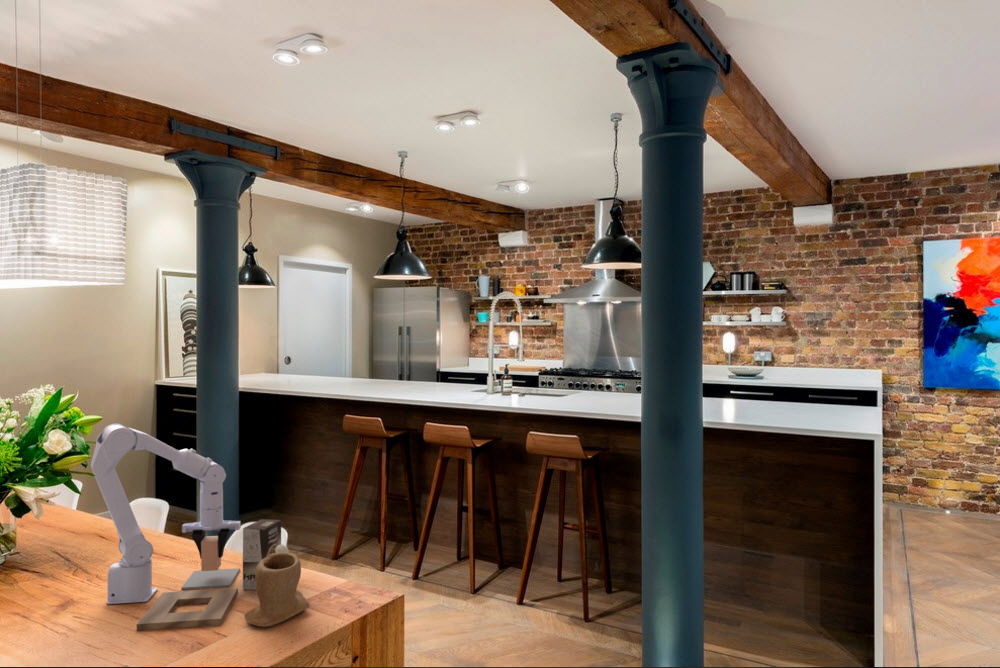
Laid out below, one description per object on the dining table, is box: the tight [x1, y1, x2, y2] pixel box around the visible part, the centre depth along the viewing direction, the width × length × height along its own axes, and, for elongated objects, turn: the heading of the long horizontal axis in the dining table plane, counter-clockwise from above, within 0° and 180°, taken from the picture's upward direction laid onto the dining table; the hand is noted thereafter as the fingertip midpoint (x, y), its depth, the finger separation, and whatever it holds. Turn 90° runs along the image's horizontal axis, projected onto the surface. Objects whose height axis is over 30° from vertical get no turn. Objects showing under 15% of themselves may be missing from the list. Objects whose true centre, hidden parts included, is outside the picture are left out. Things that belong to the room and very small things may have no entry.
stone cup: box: [244, 552, 310, 628], centre depth 158 cm, size 15×12×15 cm
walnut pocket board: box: [136, 587, 239, 632], centre depth 161 cm, size 18×18×2 cm
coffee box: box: [242, 518, 282, 591], centre depth 178 cm, size 9×6×16 cm
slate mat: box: [181, 567, 241, 591], centre depth 181 cm, size 12×12×1 cm
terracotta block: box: [200, 535, 222, 571], centre depth 180 cm, size 4×4×8 cm
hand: (211, 557), depth 181 cm, fingers closed on terracotta block, 4 cm apart
